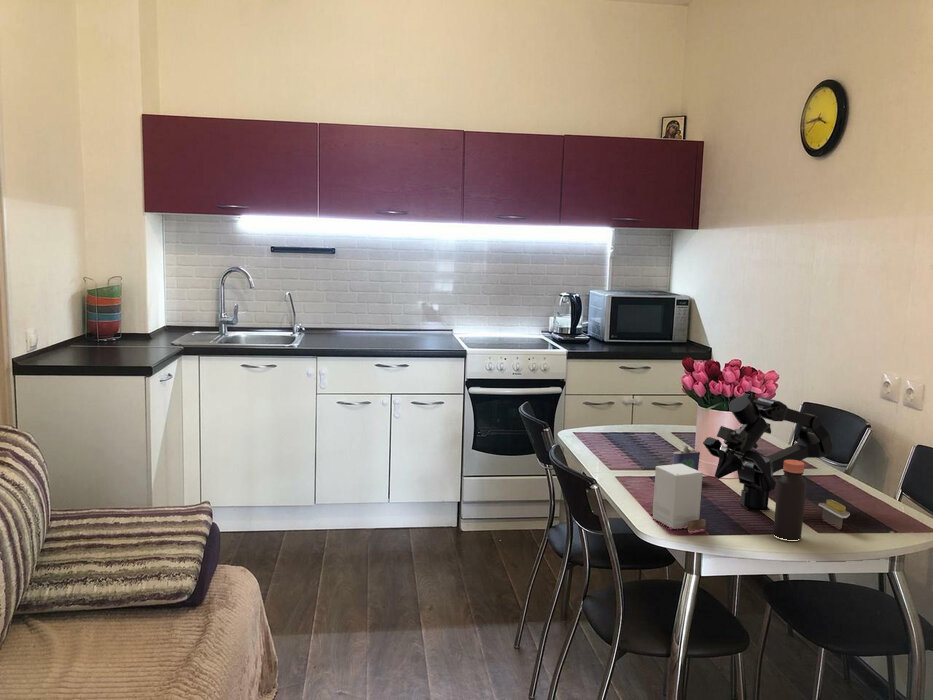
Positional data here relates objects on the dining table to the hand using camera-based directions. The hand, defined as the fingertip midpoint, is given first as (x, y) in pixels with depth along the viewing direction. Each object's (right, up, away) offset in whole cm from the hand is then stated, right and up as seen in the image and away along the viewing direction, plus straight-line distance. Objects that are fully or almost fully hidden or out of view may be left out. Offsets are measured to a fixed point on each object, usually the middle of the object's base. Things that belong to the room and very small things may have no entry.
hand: (716, 477), depth 217 cm
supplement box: (-13, -12, -5) cm, 18 cm away
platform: (+31, -13, -3) cm, 34 cm away
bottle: (+14, -14, -12) cm, 23 cm away
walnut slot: (-12, -11, -5) cm, 17 cm away
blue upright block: (0, -6, +33) cm, 34 cm away
